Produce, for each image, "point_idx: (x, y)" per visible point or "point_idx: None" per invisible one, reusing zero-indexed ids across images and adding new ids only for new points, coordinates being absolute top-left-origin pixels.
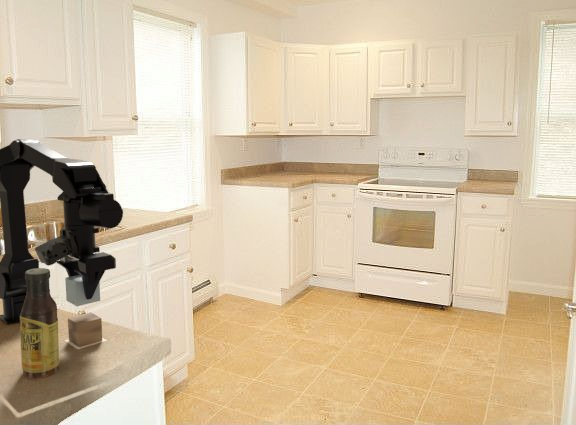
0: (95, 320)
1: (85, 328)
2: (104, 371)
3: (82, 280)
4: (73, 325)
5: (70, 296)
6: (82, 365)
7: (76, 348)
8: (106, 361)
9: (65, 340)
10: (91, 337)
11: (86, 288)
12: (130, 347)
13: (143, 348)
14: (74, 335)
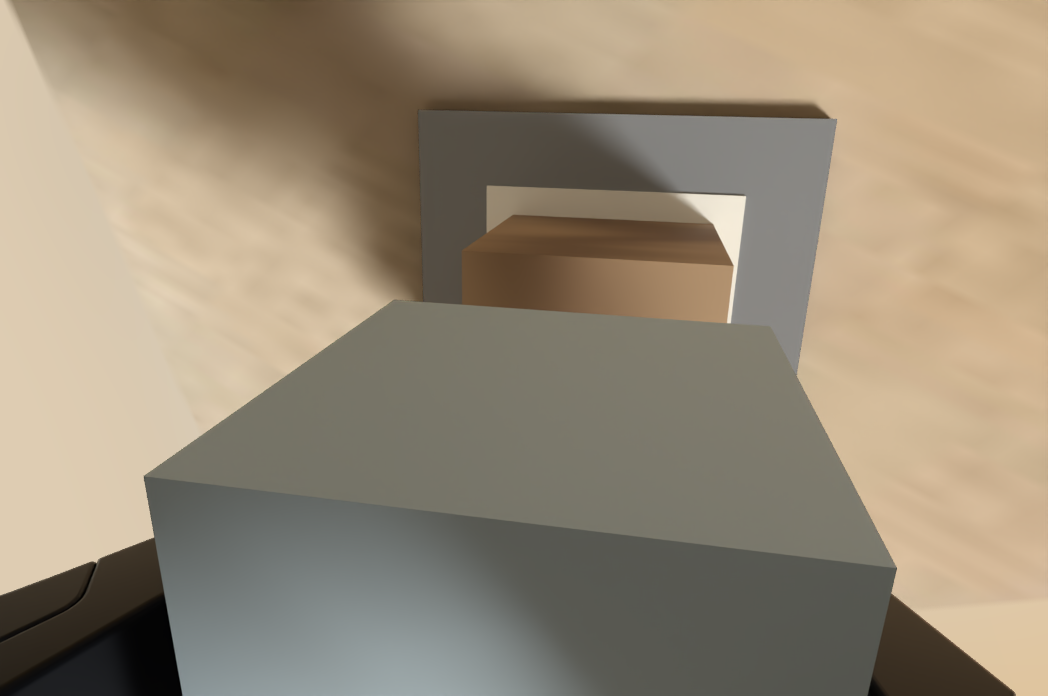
0: None
1: None
2: (92, 161)
3: (78, 636)
4: (586, 248)
5: (590, 348)
6: (254, 99)
7: (508, 188)
8: (218, 246)
9: (736, 202)
10: None
11: (155, 546)
12: None
13: None
14: (587, 231)
